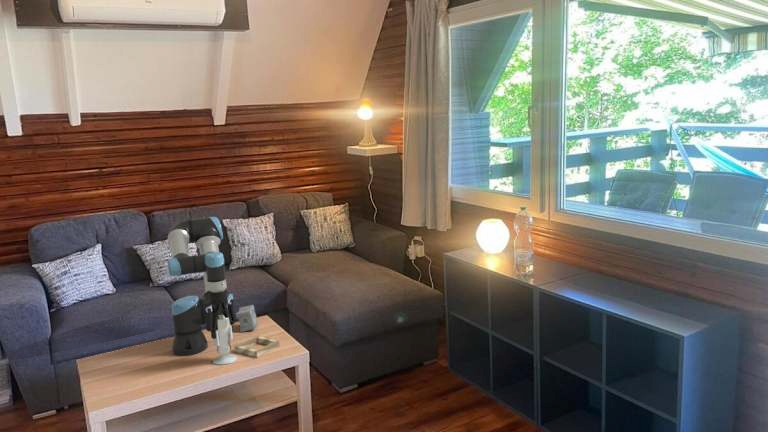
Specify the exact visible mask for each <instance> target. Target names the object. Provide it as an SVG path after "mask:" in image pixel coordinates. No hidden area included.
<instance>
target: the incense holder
mask: <svg viewBox="0 0 768 432" xmlns="http://www.w3.org/2000/svg"><path fill="white" fill-rule="evenodd" d="M255 310H256V309H255V306H254V304H251V305H246V306H243V307H242V306H241V307H238V312H235V317H236V319H237V320H238V321H239V326H240V327H239V330H240V333H244V332H248V331H254V330H255V329H256V327H257V325H258V318H257V314H256V311H255Z"/></svg>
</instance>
